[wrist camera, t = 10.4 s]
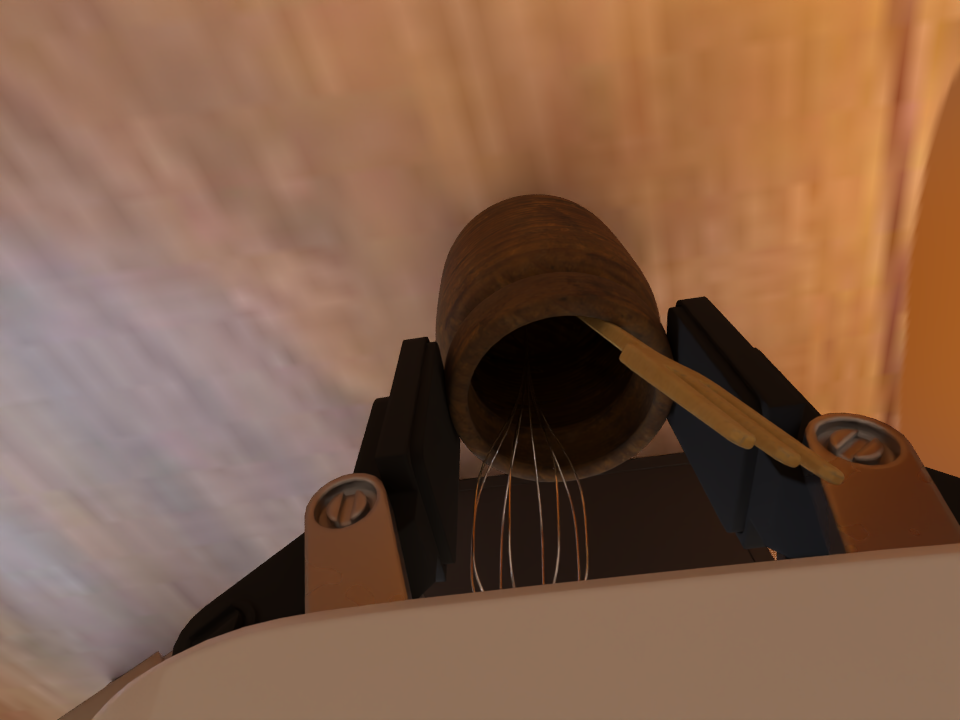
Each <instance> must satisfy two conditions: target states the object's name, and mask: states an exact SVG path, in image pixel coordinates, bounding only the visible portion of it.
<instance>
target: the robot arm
mask: <svg viewBox="0 0 960 720" xmlns="http://www.w3.org/2000/svg"><path fill="white" fill-rule="evenodd" d="M667 338H668V341H669V344H670V347H671V350H672V354H673V358H674V361H675V362H677V363H679V364H682V365H684V366H686V367H688V368H690V369H692V370H694V371H696V372H698V373H699V374H701V375H703V376H705V377H706V378H708V379H710V380H711V381H713V382H714V383H716V384H718V385H719V386H720V387H722V388H723V389H725V390H726V391H728V392H729V393H730V394H732V395H733V396H735V397H736V398H738V399H739V400H740V401H742V402H743V403H745V404H746V405H748V406H749V407H750V408H752V409H753V410H755V411H756V412H758V413H759V414H760V415H762V416H763V417H765V418H766V419H767V420H769V421H770V422H772V423H773V424H775V425H776V426H777V427H779V428H780V429H782V430H783V431H785V432H786V433H787V434H789V435H790V436H792V437H793V438H795V439H796V440H797V441H799V442H800V443H802V444H803V445H805V446H806V447H807V448H809V449H810V450H812V451H813V452H815V453H816V454H817V455H819V456H820V457H822V458H823V459H825V460H826V461H827V462H829V463H830V464H832V465H833V466H835V467H836V468H837V469H839V470H840V471H841V472H842V473H843V474H844V477H845V478H844V480H843V482H842V483H841V484H839V485H834V484H832V483H829V482H827V481H825V480H823V479H821V478H820V477H818V476H816V475H815V474H813V473H812V472H810V471H809V470H807V469H806V468H804V467H803V466H801V465H798V466H797V467H795V468H792V467H789V466H787V465H784V464H783V463H781V462H779V461H777V460H775V459H774V458H772V457H771V456H769V455H768V454H766V453H765V452H764V451H762V450H761V449H759V448H758V447H756V446H755V445H754V446H753V447H752V448H751V449H745V448H742V447H740V446H737V445H736V444H734V443H732V442H730V441H729V440H727V439H726V438H725V437H723V436H722V435H720V434H719V433H718V432H716V431H715V430H714V429H712V428H711V427H709V426H708V425H707V424H705V423H704V422H703V421H701V420H700V419H698V418H697V417H696V416H694V415H693V414H691V413H690V412H689V411H687V410H686V409H685V408H683V407H682V406H680V405H679V404H678V403H676V402H675V401H673V404H672V407H671V410H670V412H669V414H668V416H667V420H668V422H669V424H670V426H671V427H672V429H673V431H674V433H675V435H676V437H677V439H678V441H679V443H680V445H681V447H682V449H683V450H684V452H685V454H686V456H687V458H688V460H689V462H690V464H691V466H692V468H693V470H694V472H695V474H696V475H697V477H698V479H699V481H700V483H701V485H702V487H703V489H704V491H705V493H706V495H707V497H708V499H709V500H710V502H711V504H712V506H713V508H714V510H715V512H716V514H717V516H718V518H719V520H720V522H721V523H722V525H723V527H724V529H725V530H726V531H727V532H728V533H734V532H735V534H736V535H737V537H738V539H739V541H740V543H741V545H742V547H743V548H744V549H751V548H760V547H768V548H770V549H772V550H774V551H776V552H777V560H775V561H765V562H755V563H745V564H735V565H726V566H716V567H706V568H697V569H687V570H678V571H668V572H659V573H649V574H640V575H630V576H621V577H611V578H602V579H592V580H583V581H574V582H564V583H555V584H546V585H537V586H528V587H519V588H510V589H501V590H492V591H483V592H474V593H465V594H456V595H447V596H438V597H429V598H425V597H424V594H423V593H424V592H425V591H426V590H428V589H429V588H430V587H431V586H432V585H433V584H434V583H435V582H444V581H446V575H447V564H452V563H455V562H456V547H457V519H458V491H459V462H460V437H459V435H458V433H457V431H456V429H455V427H454V425H453V422H452V419H451V416H450V413H449V408H448V403H447V396H446V388H445V377H444V366H443V362H442V358H441V353H440V349H439V345H438V343H437V342H430V341H429V339H428V337H422V338H415V339H408V340H403V343H402V347H401V351H400V355H399V359H398V363H397V368H396V372H395V376H394V380H393V384H392V388H391V392H390V396H389V397H384V398H377V399H376V400H375V401H374V403H373V406H372V409H371V413H370V416H369V420H368V423H367V427H366V431H365V434H364V438H363V441H362V445H361V448H360V452H359V455H358V459H357V462H356V466H355V469H354V473H353V474H348V475H344V476H341V477H339V478H337V479H334V480H332V481H330V482H329V483H327V484H326V485H324V486H323V487H321V488H320V489H319V490H318V491H317V492H316V493H315V494H314V495H313V497H312V498H311V500H310V501H309V503H308V505H307V507H306V512H305V532H304V533H303V534H302V535H300V536H299V537H298V538H296V539H295V540H294V541H292V542H291V543H290V544H288V545H287V546H286V547H284V548H283V549H282V550H280V551H279V552H278V553H276V554H275V555H273V556H272V557H271V558H269V559H268V560H267V561H265V562H264V563H263V564H261V565H260V566H259V567H257V568H256V569H255V570H253V571H252V572H251V573H249V574H248V575H247V576H245V577H244V578H243V579H241V580H240V581H239V582H237V583H236V584H235V585H233V586H232V587H231V588H229V589H228V590H227V591H225V592H224V593H223V594H221V595H220V596H219V597H217V598H216V599H215V600H213V601H212V602H211V603H209V604H208V605H206V606H205V607H204V608H203V609H202V610H201V611H199V612H198V613H197V614H196V615H195V616H194V617H193V618H192V619H191V620H190V621H189V622H188V624H187V625H186V626H185V628H184V629H183V630H182V631H181V633H180V635H179V637H178V639H177V641H176V643H175V645H174V648H173V651H171V652H170V653H168V654H167V655H166V656H164V657H163V656H162V655H161V654H160V652H159V651H158V652H157V653H155V654H154V655H152V656H151V657H149V658H148V659H146V660H145V661H143V662H142V663H140V664H139V665H137V666H136V667H134V668H133V669H132V670H130V671H129V672H127V673H126V674H124V675H123V676H121V677H120V678H118V679H117V680H115V681H114V682H112V683H111V684H109V685H108V686H106V687H105V688H103V689H102V690H100V691H99V692H98V693H96V694H95V695H93V696H92V697H90V698H89V699H87V700H86V701H84V702H83V703H81V704H80V705H78V706H77V707H75V708H74V709H72V710H71V711H69V712H68V713H67V714H65V715H64V716H62V717H61V718H59V719H58V720H960V478H958V477H955V476H952V475H949V474H946V473H943V472H940V471H937V470H933V469H930V468H927V467H924V465H923V463H922V462H921V460H920V458H919V457H918V455H917V453H916V452H915V450H914V449H913V446H912V445H911V444H910V442H909V441H908V440H907V439H906V438H905V436H904V435H903V434H901V433H900V432H899V431H897V430H896V429H894V428H893V427H891V426H890V425H887V424H885V423H883V422H881V421H878V420H876V419H873V418H869V417H866V416H862V415H857V414H849V413H829V414H825V415H822V416H821V414H820V413H819V412H818V411H817V410H816V409H815V408H814V407H813V406H812V405H811V404H810V403H809V402H808V401H807V400H806V399H805V398H804V397H803V395H802V394H801V393H800V392H799V391H798V390H797V389H796V388H795V387H794V386H793V385H792V384H791V383H790V382H789V381H788V380H787V379H786V378H785V376H784V375H783V374H782V373H781V372H780V371H779V370H778V369H777V368H776V367H775V366H774V365H773V364H772V363H771V362H770V361H769V360H768V359H767V358H766V356H765V355H764V354H763V353H762V352H761V351H760V350H758V349H757V348H753V347H752V345H751V344H750V343H749V342H748V341H747V340H746V339H745V338H744V337H743V336H742V335H741V334H740V333H739V332H738V331H737V329H736V328H735V327H734V326H733V325H732V324H731V323H730V322H729V321H728V320H727V319H726V318H725V317H724V316H723V314H722V313H721V312H720V311H719V310H718V309H717V308H716V307H715V306H714V305H713V304H712V303H711V302H710V301H709V300H708V298H706V297H698V298H691V299H684V300H678V301H677V303H676V307H673V308H669V310H668V316H667Z"/></svg>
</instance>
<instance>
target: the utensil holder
mask: <svg viewBox="0 0 960 720" xmlns="http://www.w3.org/2000/svg"><path fill="white" fill-rule="evenodd" d="M436 342H437V343H438V345H439V349H440V353H441V358H442V362H443V366H444V377H445V388H446V396H447V403H448V408H449V413H450V416H451V419H452V422H453V425H454V427H455V429H456V431H457V433H458V435H459V437H460V438H461V440H462V441H463V443H464V444H465V445H466V446H467V448H468V449H469V450H470V451H471V452H472V453H473V454H474V455H476V456H477V457H478V458H479V459H480V460H482V461H483V465H482V467H481V470H480V473H479V477H478V481H477V486H476V492H475V499H474V511H473V528H472V543H471V567H470V568H471V586H472V590H473V593H474V592H475V588H474V583H473V567H474V572H475V575H476V579H477V581H478V584H479V586H480V589H481V591H482V592H483V591H484V589H483V587H482V585H481V582H480V580H479V576H478V573H477V569H476V565H475V551H474V541H475V519H476V513H477V506H478V502H479V498H480V494H481V491H482V488H483V485H484V482H485V480H486V477H487V475H488V472H489V470H490V468H491V467H493V468H494V469H496V470H498V471H500V472H503V473H505V474H508V475H509V478H508V484H507V489H506V495H505V501H504V509H503V517H502V528H501V546H500V590H501V589H502V548H503V529H504V517H505V509H506V501H507V495H508V552H509V564H510V573H511V580H512V586H513V588H515V582H514V575H513V567H512V557H511V476H514V477H517V478H521V479H525V480H531V481H537V490H538V499H539V510H540V524H541V544H542V585H545V580H544V542H543V523H542V511H541V500H540V490H539V482H555V485H556V502H557V532H558V549H557V561H556V568H555V573H554V578H553V582H552V584H555V582H556V577H557V572H558V566H559V558H560V516H559V493H558V482H564V484H565V487H566V490H567V493H568V496H569V500H570V503H571V508H572V513H573V518H574V525H575V534H576V546H577V565H578V581H580V559H579V543H578V532H577V524H576V517H575V512H574V507H573V503H572V500H571V496H570V493H569V490H568V487H567V484H566V481H573V480H577V482H578V486H579V489H580V493H581V499H582V504H583V513H584V524H585V540H586V572H585V577H584V580H587V576H588V569H589V550H588V533H587V520H586V510H585V502H584V497H583V492H582V488H581V485H580V481H579V479H583V478H588V477H591V476H594V475H598V474H600V473H603V472H606V471H608V470H610V469H612V468H614V467H616V466H618V465H620V464H622V463H624V462H625V461H627V460H628V459H630V458H631V457H633V456H634V455H635V454H637V453H638V452H639V451H640V450H642V449H643V448H644V447H645V446H646V445H647V444H648V443H649V442H650V441H651V440H652V439H653V438H654V436H655V435H656V434H657V433H658V431H659V430H660V428H661V427H662V425H663V424H664V422H665V420H666V418H667V416H668V414H669V412H670V410H671V407H672V404H673V401H675V402H676V403H678V404H679V405H680V406H682V407H683V408H685V409H686V410H687V411H689V412H690V413H691V414H693V415H694V416H696V417H697V418H698V419H700V420H701V421H703V422H704V423H705V424H707V425H708V426H709V427H711V428H712V429H714V430H715V431H716V432H718V433H719V434H720V435H722V436H723V437H725V438H726V439H727V440H729V441H730V442H732V443H734V444H736V445H737V446H740V447H742V448H745V449H751V448H752V447H753V446H754V445H755V446H756V447H758V448H759V449H761V450H762V451H764V452H765V453H766V454H768V455H769V456H771V457H772V458H774V459H775V460H777V461H779V462H781V463H783V464H784V465H787V466H789V467H792V468H795V467H797V466H798V465H801V466H803V467H804V468H806V469H807V470H809V471H810V472H812V473H813V474H815V475H816V476H818V477H820V478H821V479H823V480H825V481H827V482H829V483H832V484H834V485H839V484H841V483H842V482H843V480H844V478H845V477H844V474H843V473H842V472H841V471H840V470H839V469H837V468H836V467H835V466H833V465H832V464H830V463H829V462H827V461H826V460H825V459H823V458H822V457H820V456H819V455H817V454H816V453H815V452H813V451H812V450H810V449H809V448H807V447H806V446H805V445H803V444H802V443H800V442H799V441H797V440H796V439H795V438H793V437H792V436H790V435H789V434H787V433H786V432H785V431H783V430H782V429H780V428H779V427H777V426H776V425H775V424H773V423H772V422H770V421H769V420H767V419H766V418H765V417H763V416H762V415H760V414H759V413H758V412H756V411H755V410H753V409H752V408H750V407H749V406H748V405H746V404H745V403H743V402H742V401H740V400H739V399H738V398H736V397H735V396H733V395H732V394H730V393H729V392H728V391H726V390H725V389H723V388H722V387H720V386H719V385H718V384H716V383H714V382H713V381H711V380H710V379H708V378H706V377H705V376H703V375H701V374H699V373H698V372H696V371H694V370H692V369H690V368H688V367H686V366H684V365H682V364H679V363H677V362H675V361H674V358H673V354H672V350H671V347H670V344H669V341H668V338H667V335H666V332H665V330H664V328H663V326H662V324H661V323H660V317H659V312H658V308H657V304H656V301H655V298H654V295H653V292H652V290H651V288H650V286H649V284H648V282H647V280H646V278H645V276H644V275H643V273H642V271H641V270H640V268H639V267H638V265H637V264H636V263H635V261H634V260H633V258H632V257H631V256H630V254H629V253H628V252H627V250H626V249H625V248H624V246H623V245H622V244H621V243H620V241H619V240H618V239H617V238H616V236H615V235H614V234H613V233H612V232H611V230H610V229H609V228H608V227H607V226H606V225H605V224H604V223H603V222H602V221H601V220H600V219H599V218H598V217H596V216H595V215H594V214H593V213H591V212H590V211H588V210H587V209H585V208H584V207H582V206H580V205H578V204H576V203H574V202H572V201H570V200H567V199H564V198H560V197H556V196H550V195H523V196H518V197H513V198H510V199H507V200H504V201H501V202H499V203H497V204H494V205H493V206H491V207H489V208H487V209H486V210H484V211H483V212H481V213H480V214H479V215H477V216H476V217H475V218H474V219H473V220H471V221H470V222H469V223H468V224H467V225H466V227H465V228H464V229H463V230H462V231H461V233H460V234H459V236H458V237H457V239H456V240H455V242H454V244H453V246H452V247H451V250H450V252H449V254H448V256H447V259H446V262H445V266H444V269H443V273H442V279H441V285H440V291H439V299H438V307H437V317H436ZM485 463H486V464H488V465H489V467H488V470H487V472H486V474H485V477H484V479H483V482H482V485H481V488H480V491H479V494H478V497H477V493H478V487H479V482H480V478H481V474H482V471H483V468H484V465H485ZM538 481H539V482H538ZM508 489H509V493H508Z"/></svg>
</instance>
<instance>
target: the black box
mask: <svg viewBox="0 0 960 720" xmlns="http://www.w3.org/2000/svg"><path fill="white" fill-rule="evenodd" d="M508 478H509V475H508V474H507V475H499V476H491V477H486V480H485V482H484V485H483V488H482V491H481V494H480V498H479V502H478V506H477V513H476V519H475V541H474V551H475V565H476V569H477V573H478V576H479V580H480V582H481V585H482V587H483V589H484V591H492V590H500V546H501V528H502V517H503V509H504V501H505V495H506V489H507V484H508ZM483 479H484V477H483V478H480V482H479V487H478V493H477V497H478V494H479V491H480V488H481V485H482V482H483ZM477 481H478V478H475V479H467V480H459V491H458V519H457V547H456V562H455V563H452V564H447V575H446V581H444V582H435V583H434V584H433V585H432V586H431V587H430V588H429V589H428V590H426V591H425V592H424V593H423V594H424V597H425V598H429V597H438V596H447V595H456V594H465V593H473V590H472V586H471V568H470V567H471V543H472V528H473V511H474V499H475V492H476V486H477ZM579 481H580V485H581V488H582V492H583V497H584V502H585V510H586V520H587V533H588V550H589V569H588V576H587V580H592V579H602V578H611V577H621V576H630V575H640V574H649V573H659V572H668V571H678V570H687V569H697V568H706V567H716V566H726V565H735V564H745V563H755V562H765V561H775V560H774V558H773V556H772V555H771V553H770V551H769V550H768V548H767V547H760V548H751V549H744V548H743V547H742V545H741V543H740V541H739V539H738V537H737V535H736V534H735V532H734V533H728V532H727V531H726V530H725V529H724V527H723V525H722V523H721V522H720V520H719V518H718V516H717V514H716V512H715V510H714V508H713V506H712V504H711V502H710V500H709V499H708V497H707V495H706V493H705V491H704V489H703V487H702V485H701V483H700V481H699V479H698V477H697V475H696V474H695V472H694V470H693V468H692V466H691V464H690V462H689V460H688V458H687V456H686V454H685V453H679V454H670V455H662V456H654V457H646V458H638V459H630V460H627V461H625V462H624V463H622V464H620V465H618V466H616V467H614V468H612V469H610V470H608V471H606V472H603V473H600V474H598V475H594V476H591V477H588V478H583V479H579ZM538 482H539V481H538ZM566 484H567V487H568V490H569V493H570V496H571V500H572V503H573V507H574V512H575V517H576V524H577V532H578V543H579V559H580V581H583V580H584V577H585V572H586V540H585V524H584V513H583V504H582V499H581V493H580V489H579V486H578V482H577V480H573V481H566ZM539 490H540V500H541V511H542V523H543V542H544V580H545V585H546V584H552V582H553V578H554V573H555V568H556V561H557V549H558V532H557V502H556V485H555V482H539ZM508 493H509V489H508ZM558 493H559V516H560V558H559V566H558V572H557V577H556V582H555V583H564V582H574V581H578V565H577V546H576V534H575V525H574V518H573V513H572V508H571V503H570V500H569V496H568V493H567V490H566V487H565V484H564V482H558ZM511 557H512V567H513V575H514V582H515V588H519V587H528V586H537V585H542V544H541V524H540V510H539V499H538V490H537V481H531V480H525V479H521V478H517V477H514V476H511ZM473 583H474V588H475V592H482V591H481V589H480V586H479V584H478V581H477V579H476V575H475V572H474V567H473ZM510 588H513V586H512V580H511V573H510V564H509V552H508V495H507V501H506V509H505V517H504V529H503V548H502V589H510Z"/></svg>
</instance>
